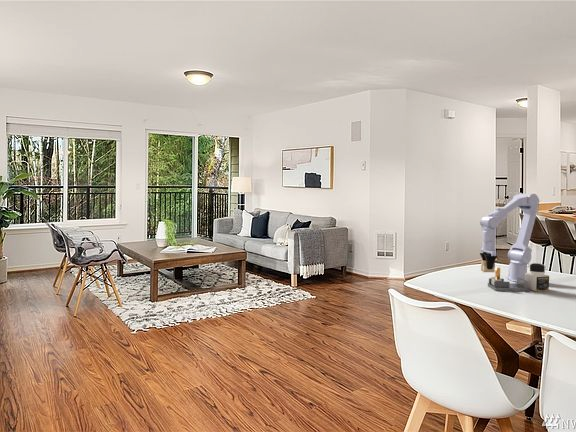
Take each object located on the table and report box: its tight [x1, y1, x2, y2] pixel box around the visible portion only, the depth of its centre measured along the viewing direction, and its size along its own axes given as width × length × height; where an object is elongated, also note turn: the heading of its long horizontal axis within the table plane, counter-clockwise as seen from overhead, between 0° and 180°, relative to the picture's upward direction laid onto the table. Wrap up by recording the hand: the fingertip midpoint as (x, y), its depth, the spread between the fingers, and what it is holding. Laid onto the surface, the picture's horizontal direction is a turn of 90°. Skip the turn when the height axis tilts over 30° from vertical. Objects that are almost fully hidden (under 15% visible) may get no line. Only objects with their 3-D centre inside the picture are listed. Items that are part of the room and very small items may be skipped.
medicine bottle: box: [525, 262, 550, 293], centre depth 207 cm, size 7×7×12 cm
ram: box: [490, 267, 503, 285], centre depth 209 cm, size 5×3×8 cm, turn 175°
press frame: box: [487, 277, 530, 293], centre depth 209 cm, size 10×14×4 cm
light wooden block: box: [480, 260, 496, 273], centre depth 219 cm, size 4×5×5 cm
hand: (488, 268), depth 220 cm, fingers closed on light wooden block, 4 cm apart
